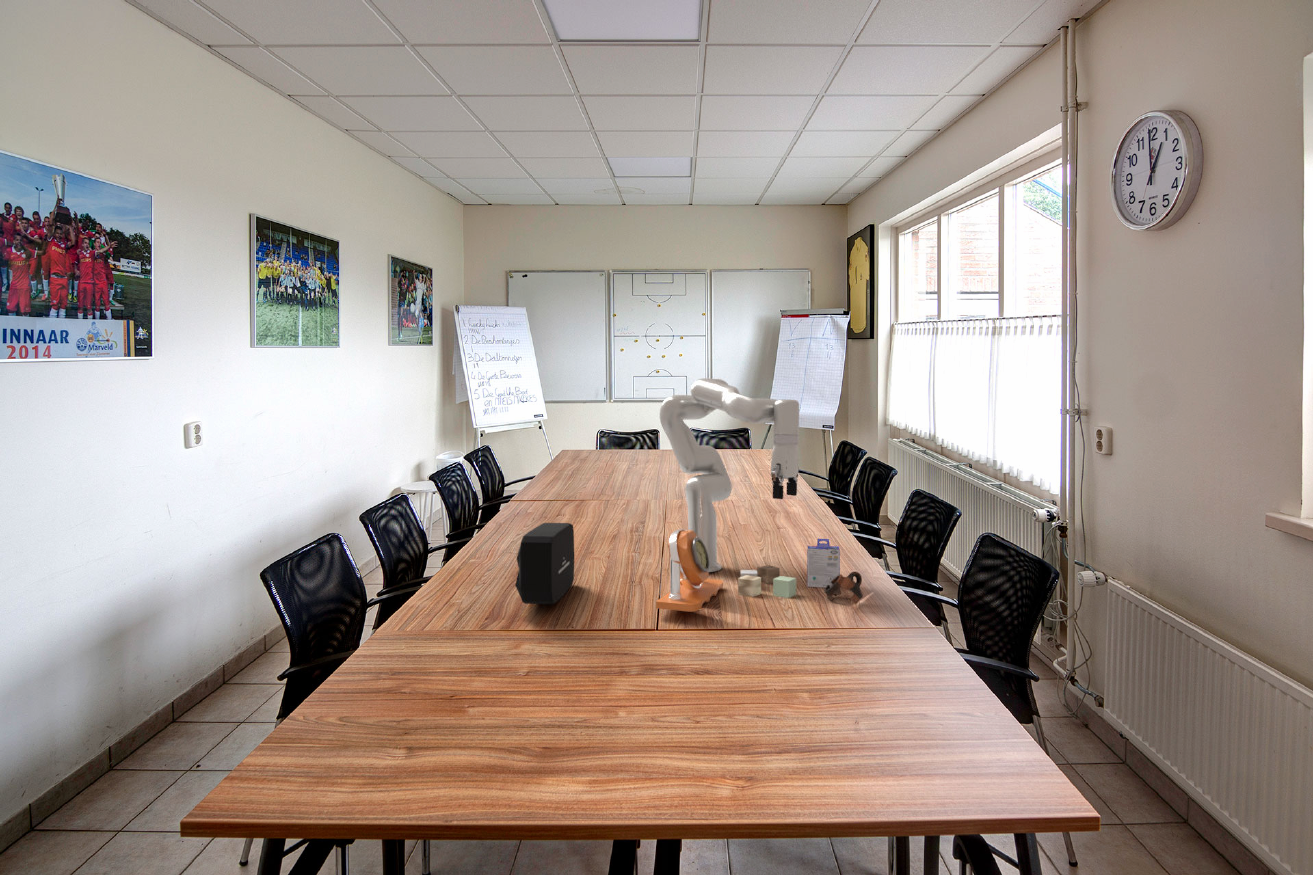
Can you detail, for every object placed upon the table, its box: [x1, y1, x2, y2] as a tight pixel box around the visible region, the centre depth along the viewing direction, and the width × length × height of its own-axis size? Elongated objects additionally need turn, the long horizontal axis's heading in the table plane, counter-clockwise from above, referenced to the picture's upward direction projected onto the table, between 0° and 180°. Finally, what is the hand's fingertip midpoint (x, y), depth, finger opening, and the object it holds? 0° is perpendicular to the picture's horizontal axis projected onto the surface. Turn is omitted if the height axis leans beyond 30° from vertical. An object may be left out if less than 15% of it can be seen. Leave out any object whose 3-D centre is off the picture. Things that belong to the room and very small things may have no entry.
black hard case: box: [515, 522, 575, 605], centre depth 210 cm, size 30×12×20 cm, turn 174°
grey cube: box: [740, 569, 757, 577], centre depth 218 cm, size 5×5×5 cm
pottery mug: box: [823, 571, 864, 606], centre depth 203 cm, size 12×9×8 cm
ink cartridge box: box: [806, 538, 841, 588], centre depth 220 cm, size 10×6×14 cm, turn 79°
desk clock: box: [655, 528, 724, 613], centre depth 205 cm, size 12×30×20 cm, turn 159°
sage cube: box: [772, 575, 797, 599], centre depth 209 cm, size 5×5×5 cm
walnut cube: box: [756, 564, 781, 585], centre depth 224 cm, size 5×5×5 cm
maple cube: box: [737, 575, 762, 598], centre depth 210 cm, size 5×5×5 cm
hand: (784, 496), depth 214 cm, fingers open, 9 cm apart
